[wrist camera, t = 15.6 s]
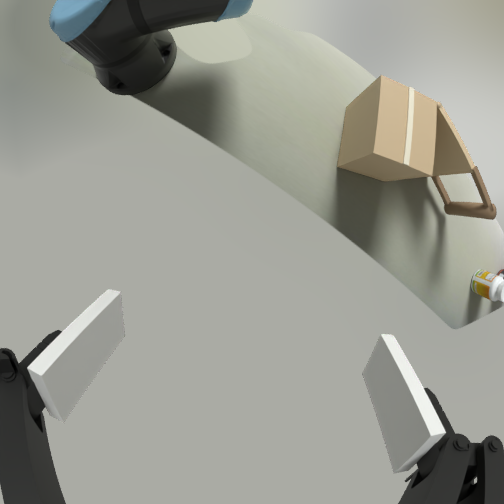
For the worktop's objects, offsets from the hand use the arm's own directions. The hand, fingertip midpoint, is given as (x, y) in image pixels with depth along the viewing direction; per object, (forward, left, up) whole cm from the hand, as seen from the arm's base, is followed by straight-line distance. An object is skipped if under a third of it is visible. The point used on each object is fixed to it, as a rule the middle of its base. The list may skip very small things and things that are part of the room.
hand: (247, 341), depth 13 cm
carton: (-3, +26, -31) cm, 41 cm away
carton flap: (+6, +34, -31) cm, 47 cm away
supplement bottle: (+35, +38, -32) cm, 60 cm away
